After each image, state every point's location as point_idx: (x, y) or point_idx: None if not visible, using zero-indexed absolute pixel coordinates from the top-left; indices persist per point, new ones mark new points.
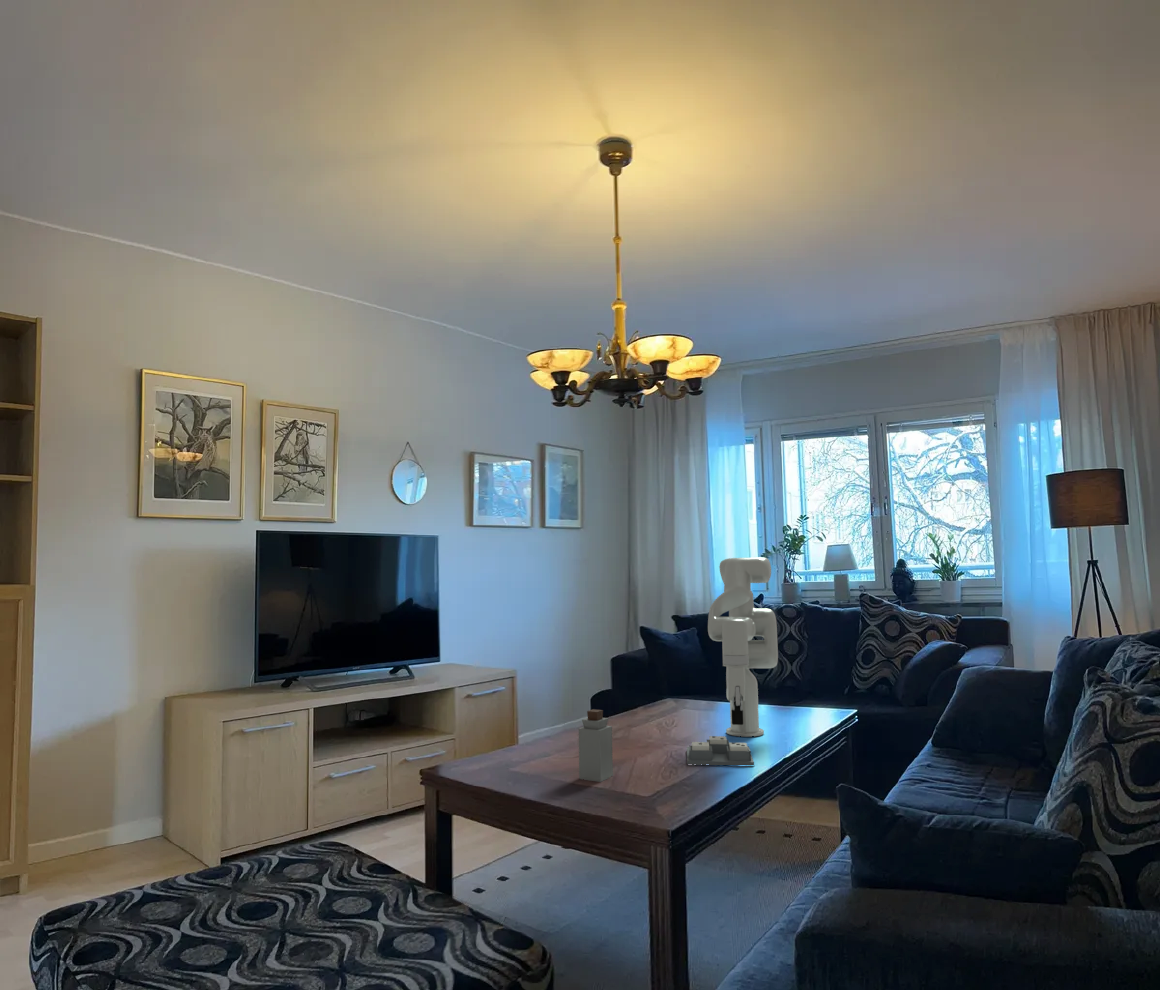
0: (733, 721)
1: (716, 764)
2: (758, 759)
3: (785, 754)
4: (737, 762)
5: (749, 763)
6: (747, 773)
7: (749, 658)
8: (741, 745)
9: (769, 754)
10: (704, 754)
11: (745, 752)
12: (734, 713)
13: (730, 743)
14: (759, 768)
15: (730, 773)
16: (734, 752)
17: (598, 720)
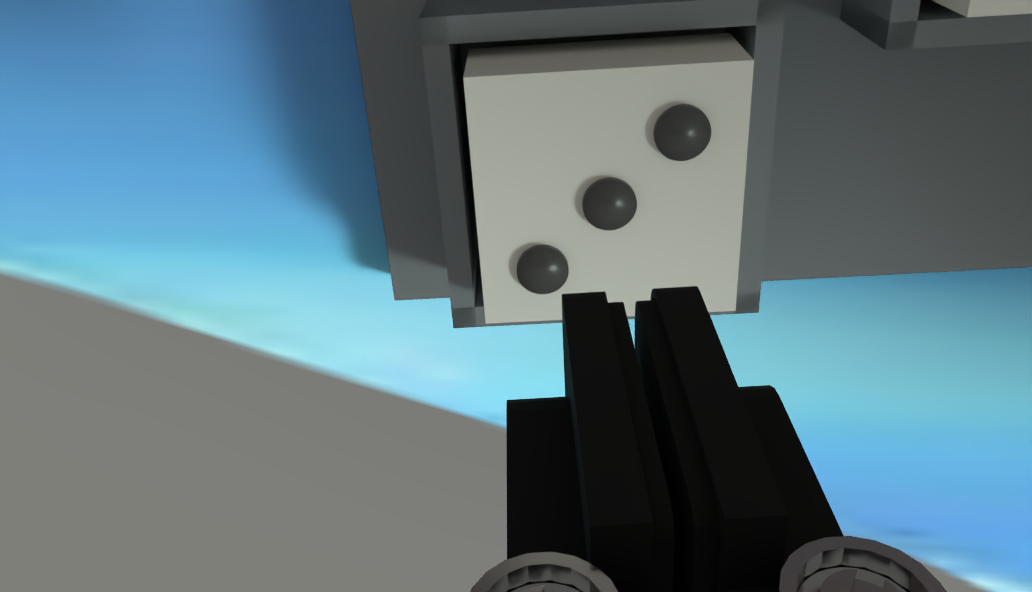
0: (565, 353)
1: None
2: (731, 325)
3: (932, 549)
4: (368, 115)
5: (390, 246)
6: (85, 203)
7: None
8: (528, 249)
9: (950, 429)
10: None
11: (447, 260)
12: (583, 525)
13: (679, 84)
14: (338, 322)
15: (6, 11)
16: (432, 116)
17: None
